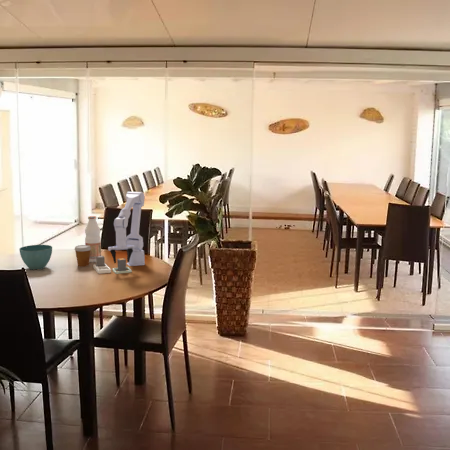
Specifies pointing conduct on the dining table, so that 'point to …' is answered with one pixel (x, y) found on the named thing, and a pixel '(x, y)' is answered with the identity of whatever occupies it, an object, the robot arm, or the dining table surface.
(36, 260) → the teal bowl
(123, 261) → the plug
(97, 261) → the twin plug
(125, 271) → the tray
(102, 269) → the strip
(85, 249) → the disposable coffee cup
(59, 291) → the dining table surface
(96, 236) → the fruit juice
